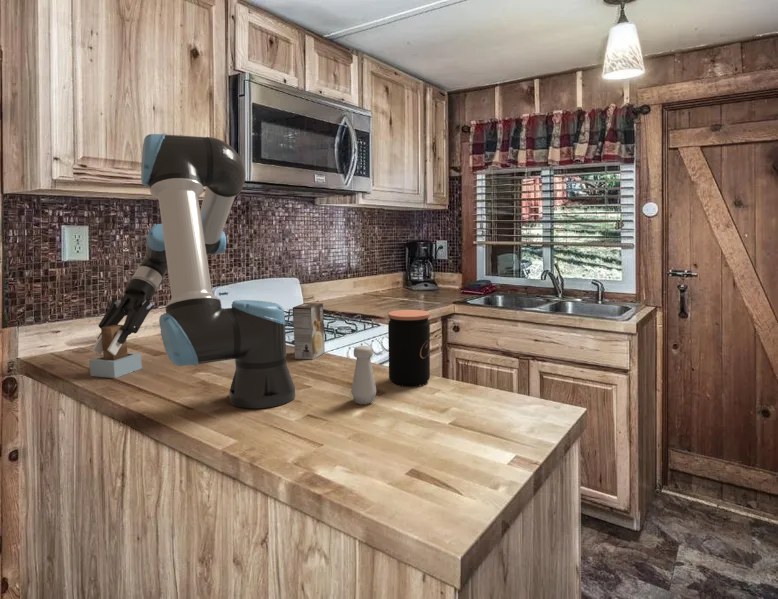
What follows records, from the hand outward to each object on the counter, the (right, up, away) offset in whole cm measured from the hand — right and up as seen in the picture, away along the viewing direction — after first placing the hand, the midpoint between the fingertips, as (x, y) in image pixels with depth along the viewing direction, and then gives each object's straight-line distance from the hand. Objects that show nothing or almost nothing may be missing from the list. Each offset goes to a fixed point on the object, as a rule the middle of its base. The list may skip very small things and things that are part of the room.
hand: (103, 352), depth 145 cm
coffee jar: (+83, -7, -7) cm, 84 cm away
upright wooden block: (+1, -5, +4) cm, 7 cm away
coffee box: (+53, -3, +21) cm, 57 cm away
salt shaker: (+72, -9, -23) cm, 76 cm away
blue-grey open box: (+1, -6, +5) cm, 8 cm away
